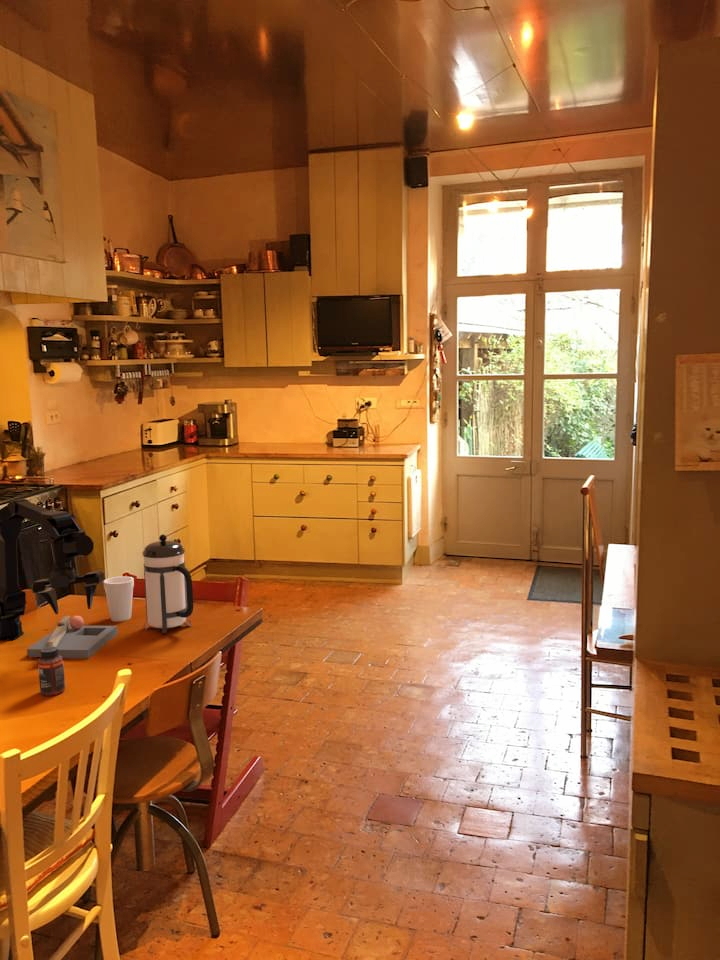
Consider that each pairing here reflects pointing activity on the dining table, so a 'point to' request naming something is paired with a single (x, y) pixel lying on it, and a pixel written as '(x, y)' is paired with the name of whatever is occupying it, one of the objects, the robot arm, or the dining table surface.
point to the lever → (59, 632)
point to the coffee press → (167, 585)
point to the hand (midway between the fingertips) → (73, 611)
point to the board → (77, 641)
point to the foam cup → (119, 597)
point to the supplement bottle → (51, 672)
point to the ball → (76, 622)
